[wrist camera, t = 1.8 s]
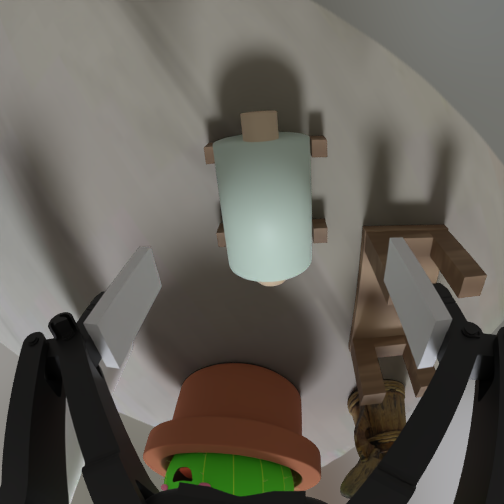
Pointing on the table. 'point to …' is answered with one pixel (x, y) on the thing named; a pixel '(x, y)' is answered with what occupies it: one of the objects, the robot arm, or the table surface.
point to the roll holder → (382, 308)
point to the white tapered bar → (71, 443)
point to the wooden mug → (374, 432)
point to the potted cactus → (235, 434)
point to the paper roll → (265, 199)
